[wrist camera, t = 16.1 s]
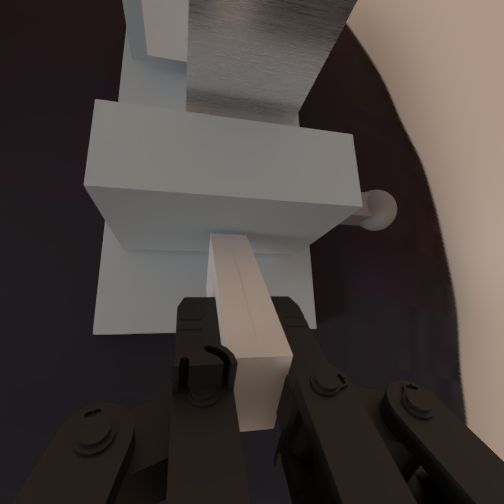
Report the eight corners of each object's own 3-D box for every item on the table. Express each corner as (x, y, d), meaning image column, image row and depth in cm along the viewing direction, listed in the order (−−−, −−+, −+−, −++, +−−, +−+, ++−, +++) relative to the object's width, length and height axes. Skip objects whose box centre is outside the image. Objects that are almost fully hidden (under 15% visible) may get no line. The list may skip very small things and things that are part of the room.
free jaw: (122, 248, 15) (83, 185, 9) (128, 184, 16) (97, 86, 10) (359, 256, 18) (454, 213, 12) (352, 202, 19) (437, 135, 13)
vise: (100, 334, 15) (18, 330, 7) (132, 23, 21) (104, -167, 13) (325, 328, 18) (439, 321, 10) (300, 56, 23) (360, -84, 16)
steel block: (182, 191, 17) (192, -119, 5) (187, 74, 19) (200, -320, 8) (253, 196, 18) (388, -59, 6) (249, 84, 20) (345, -254, 8)
